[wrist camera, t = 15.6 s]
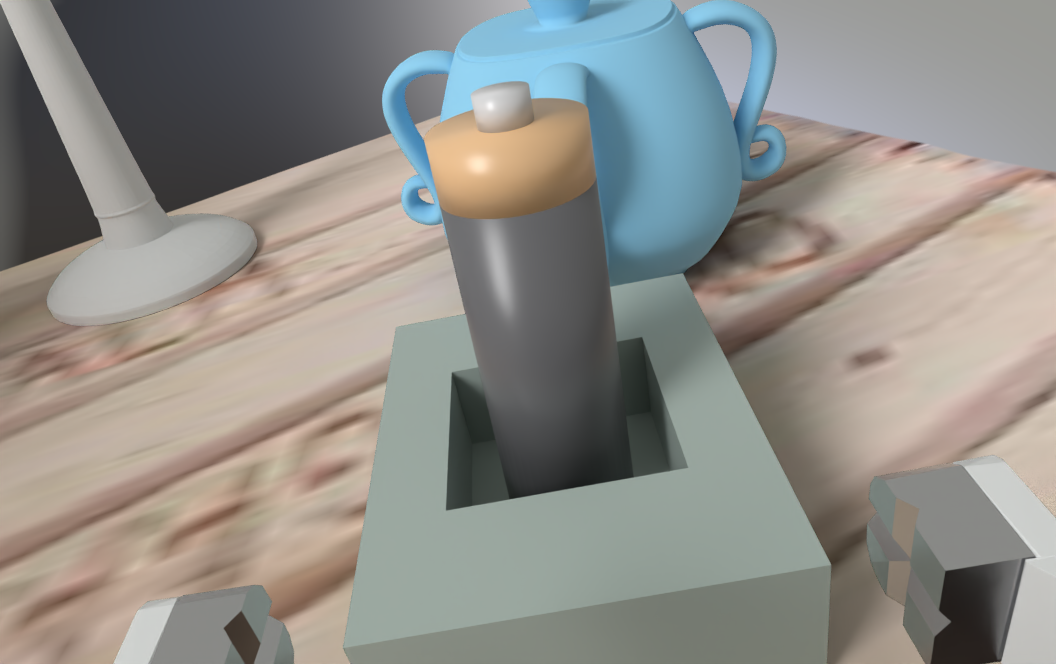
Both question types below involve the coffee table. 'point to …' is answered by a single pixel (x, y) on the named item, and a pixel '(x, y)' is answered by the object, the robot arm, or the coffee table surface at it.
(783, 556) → the block
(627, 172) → the decorative pot
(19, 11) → the candlestick
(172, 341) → the coffee table surface
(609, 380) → the battery cell
